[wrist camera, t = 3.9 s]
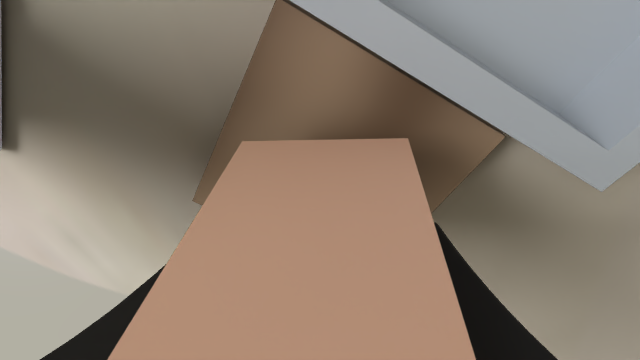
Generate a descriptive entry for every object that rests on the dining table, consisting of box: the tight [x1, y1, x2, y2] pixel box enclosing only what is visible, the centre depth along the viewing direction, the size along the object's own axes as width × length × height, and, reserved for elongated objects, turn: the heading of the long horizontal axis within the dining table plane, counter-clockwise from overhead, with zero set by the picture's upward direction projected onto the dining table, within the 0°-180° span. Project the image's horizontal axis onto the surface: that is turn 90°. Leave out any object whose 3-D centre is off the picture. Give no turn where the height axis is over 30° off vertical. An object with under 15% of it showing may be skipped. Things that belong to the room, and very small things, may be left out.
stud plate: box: [192, 0, 505, 213], centre depth 12 cm, size 9×9×4 cm
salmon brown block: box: [108, 138, 476, 360], centre depth 8 cm, size 5×5×8 cm
